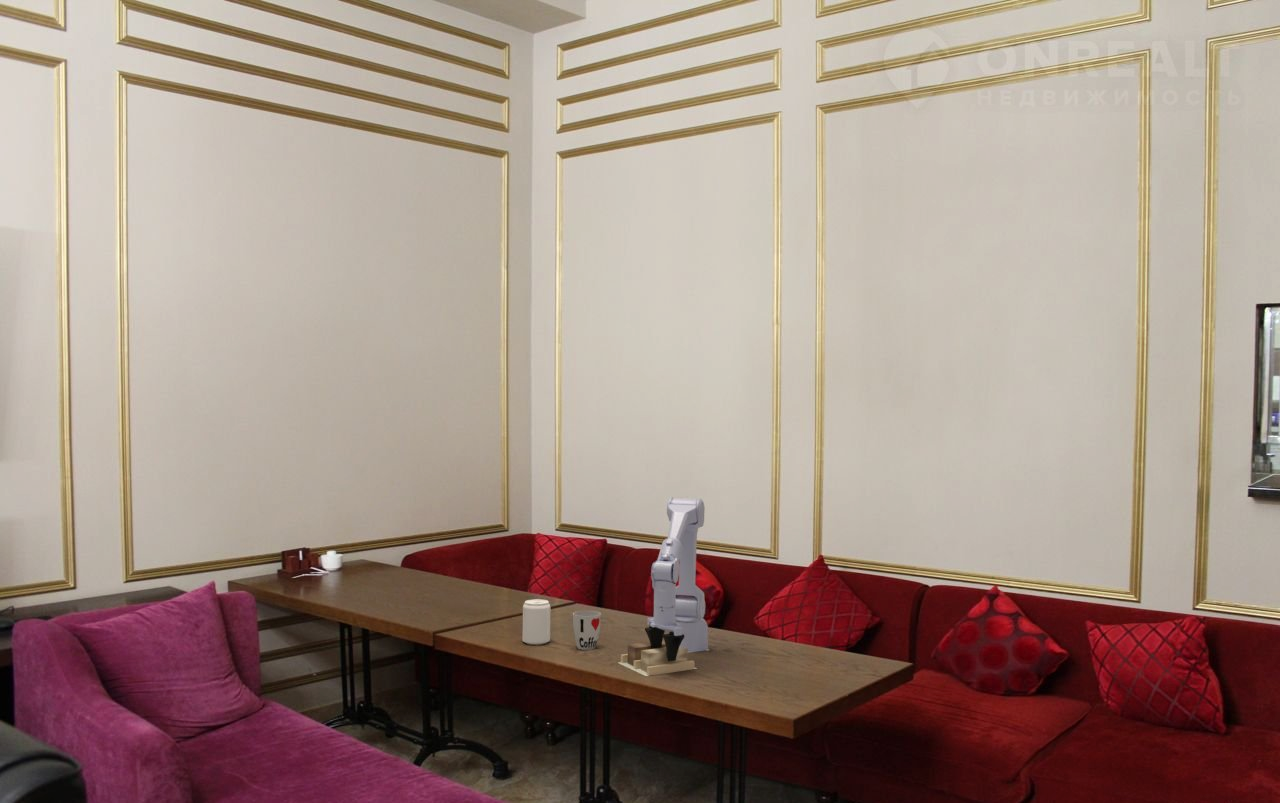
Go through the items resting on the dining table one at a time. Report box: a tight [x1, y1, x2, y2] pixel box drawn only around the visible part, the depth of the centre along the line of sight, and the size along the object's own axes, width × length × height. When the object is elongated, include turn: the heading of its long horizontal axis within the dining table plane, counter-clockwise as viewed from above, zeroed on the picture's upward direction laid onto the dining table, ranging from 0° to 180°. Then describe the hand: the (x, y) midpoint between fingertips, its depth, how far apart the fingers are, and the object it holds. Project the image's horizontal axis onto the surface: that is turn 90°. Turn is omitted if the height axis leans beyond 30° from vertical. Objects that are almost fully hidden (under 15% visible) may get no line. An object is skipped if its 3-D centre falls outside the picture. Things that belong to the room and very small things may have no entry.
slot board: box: [617, 653, 698, 677], centre depth 262 cm, size 16×15×3 cm
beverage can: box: [522, 598, 551, 646], centre depth 289 cm, size 8×8×12 cm
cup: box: [572, 610, 602, 651], centre depth 283 cm, size 8×8×10 cm
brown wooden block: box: [627, 639, 666, 666], centre depth 265 cm, size 12×4×5 cm, turn 120°
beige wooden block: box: [641, 646, 689, 672], centre depth 259 cm, size 12×4×5 cm, turn 120°
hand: (664, 657), depth 259 cm, fingers open, 7 cm apart
